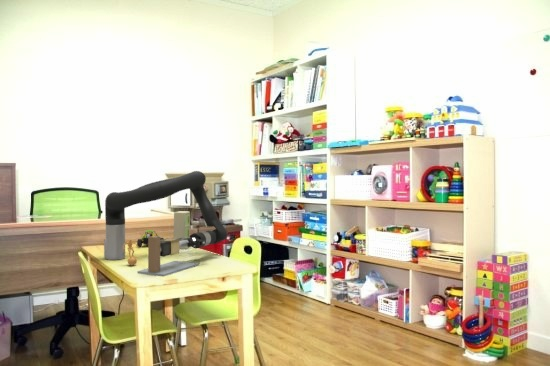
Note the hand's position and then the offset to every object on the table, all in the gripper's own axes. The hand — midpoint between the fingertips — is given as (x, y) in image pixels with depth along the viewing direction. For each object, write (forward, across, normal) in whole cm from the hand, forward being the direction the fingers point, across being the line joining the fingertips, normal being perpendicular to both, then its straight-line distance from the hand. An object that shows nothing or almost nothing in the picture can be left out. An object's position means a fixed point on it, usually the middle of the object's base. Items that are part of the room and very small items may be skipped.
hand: (180, 244), depth 215 cm
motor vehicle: (-41, -52, +11) cm, 67 cm away
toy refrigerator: (-41, -28, +10) cm, 51 cm away
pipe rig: (+7, 0, +10) cm, 12 cm away
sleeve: (+8, 0, +3) cm, 9 cm away
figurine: (+9, -21, +10) cm, 25 cm away
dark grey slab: (+14, 0, +3) cm, 14 cm away
